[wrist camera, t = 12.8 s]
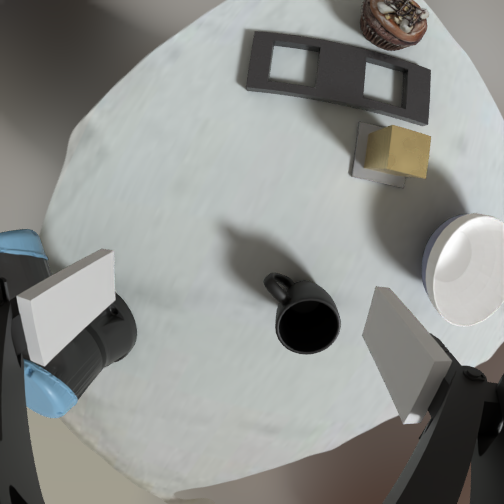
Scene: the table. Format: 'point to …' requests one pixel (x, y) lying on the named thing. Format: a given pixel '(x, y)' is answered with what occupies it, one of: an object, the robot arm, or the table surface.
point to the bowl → (465, 268)
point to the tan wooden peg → (398, 152)
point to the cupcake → (393, 23)
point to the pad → (360, 160)
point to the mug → (303, 315)
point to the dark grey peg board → (341, 76)
